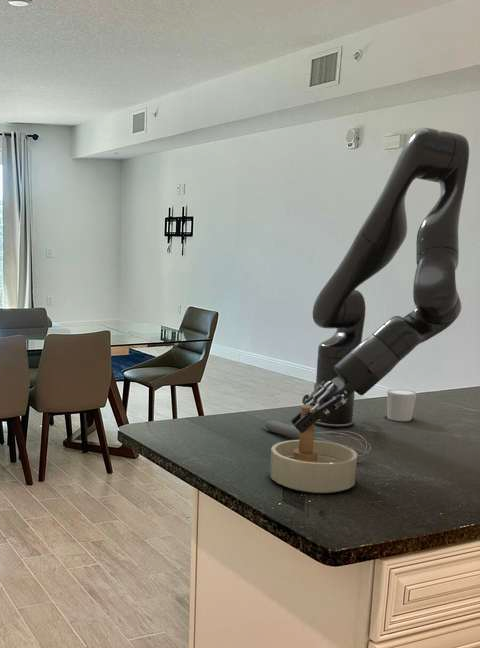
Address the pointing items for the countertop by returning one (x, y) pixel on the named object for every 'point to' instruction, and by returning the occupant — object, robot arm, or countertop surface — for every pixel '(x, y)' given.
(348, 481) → the bowl
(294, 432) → the kitchen whisk
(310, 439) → the tan wooden post
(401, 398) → the white cup
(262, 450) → the countertop surface
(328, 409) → the robot arm
